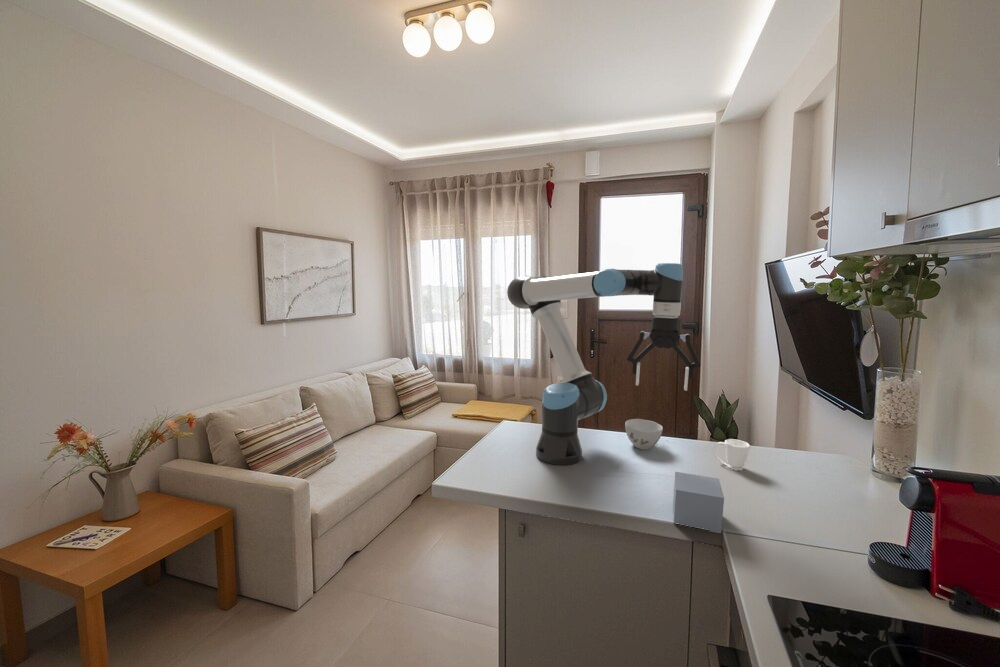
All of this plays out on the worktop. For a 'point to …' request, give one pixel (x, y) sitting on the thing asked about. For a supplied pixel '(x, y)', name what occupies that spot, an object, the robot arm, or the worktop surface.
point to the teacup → (643, 432)
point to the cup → (734, 453)
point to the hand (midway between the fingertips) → (660, 387)
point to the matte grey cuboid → (698, 501)
